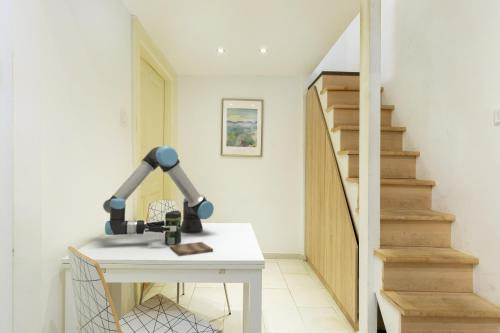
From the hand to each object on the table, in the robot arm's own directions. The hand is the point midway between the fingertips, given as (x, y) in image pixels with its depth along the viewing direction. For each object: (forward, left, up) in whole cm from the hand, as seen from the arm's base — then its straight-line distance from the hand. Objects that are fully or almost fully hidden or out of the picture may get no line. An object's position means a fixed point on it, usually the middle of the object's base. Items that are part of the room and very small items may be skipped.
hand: (176, 226), depth 172 cm
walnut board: (-4, +16, -10) cm, 20 cm away
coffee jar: (+1, -1, -10) cm, 10 cm away
